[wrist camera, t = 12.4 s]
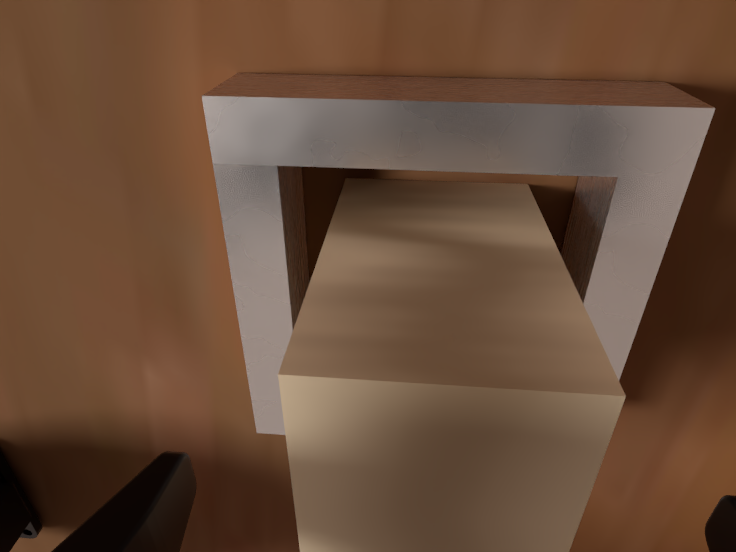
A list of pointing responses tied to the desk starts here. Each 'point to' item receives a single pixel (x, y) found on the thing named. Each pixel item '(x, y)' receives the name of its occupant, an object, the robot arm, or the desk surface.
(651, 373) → the desk surface
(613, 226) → the rectangular frame
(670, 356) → the desk surface
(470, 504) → the peg
